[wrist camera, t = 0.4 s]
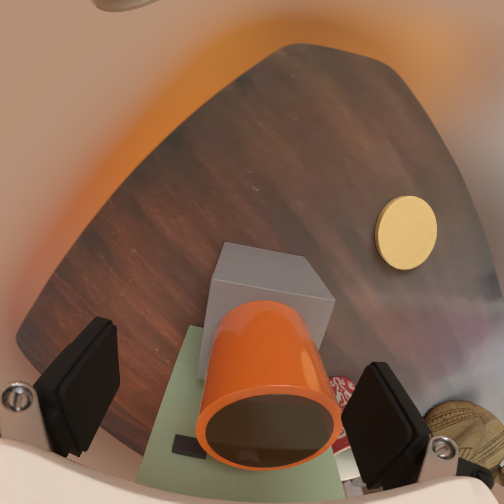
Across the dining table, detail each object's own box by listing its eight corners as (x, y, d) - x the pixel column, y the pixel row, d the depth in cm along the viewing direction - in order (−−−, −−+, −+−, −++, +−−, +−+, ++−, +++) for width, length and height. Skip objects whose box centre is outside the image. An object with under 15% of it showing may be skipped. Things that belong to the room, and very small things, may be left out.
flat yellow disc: (384, 186, 29) (388, 186, 28) (439, 206, 30) (443, 207, 29) (366, 260, 31) (369, 262, 30) (421, 272, 32) (425, 275, 31)
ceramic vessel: (382, 442, 41) (430, 558, 12) (466, 373, 37) (548, 470, 8) (412, 461, 44) (451, 547, 15) (479, 405, 41) (537, 481, 12)
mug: (349, 359, 35) (384, 429, 22) (367, 395, 37) (397, 458, 24) (268, 399, 36) (275, 474, 23) (295, 429, 38) (307, 496, 25)
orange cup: (221, 291, 19) (202, 374, 10) (323, 308, 20) (367, 390, 11) (207, 373, 21) (190, 463, 12) (295, 385, 21) (314, 472, 13)
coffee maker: (325, 261, 31) (505, 486, 3) (292, 367, 35) (337, 581, 7) (202, 236, 30) (27, 500, 2) (186, 350, 34) (123, 571, 6)
